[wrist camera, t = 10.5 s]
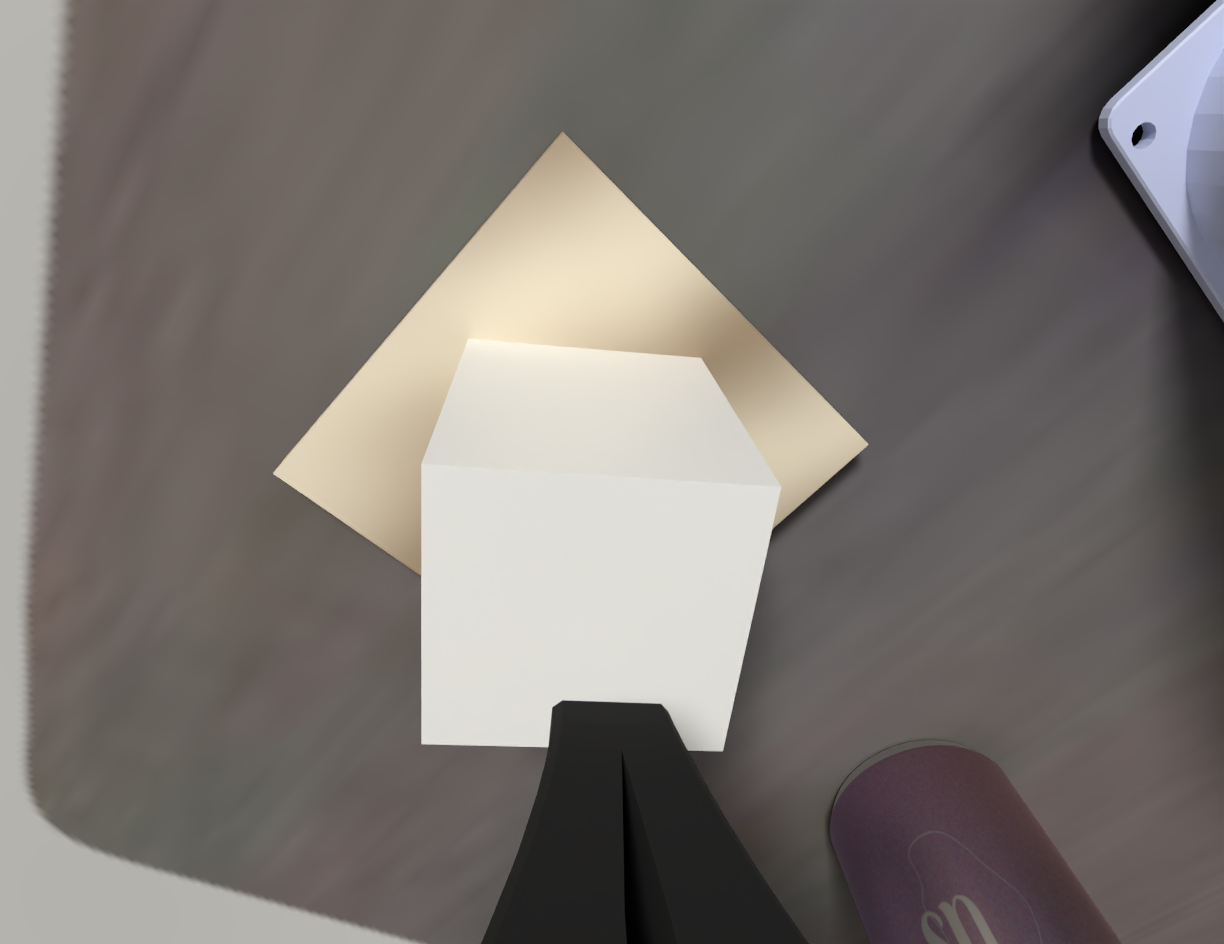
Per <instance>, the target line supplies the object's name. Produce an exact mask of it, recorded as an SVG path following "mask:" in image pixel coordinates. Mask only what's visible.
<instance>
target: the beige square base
mask: <svg viewBox="0 0 1224 944" xmlns="http://www.w3.org/2000/svg"><path fill="white" fill-rule="evenodd" d="M468 339H478V340H491V341H503V342H515V343H527V344H539V345H551V346H563V347H575V348H587V349H600V350H612V351H624V352H636V353H648V354H660V355H672V356H684V357H697V358H702V360H703V362H704V363H705V365H706V366H707V368H708V370H709V371H710V373H711V375H712V376H713V378H714V379H715V381H716V383H717V384H718V386H719V387H720V389H721V391H722V392H723V394H724V395H725V397H726V399H727V400H728V402H729V403H730V405H731V407H732V408H733V410H734V412H735V413H736V415H737V416H738V418H739V420H740V421H741V423H742V424H743V426H744V428H745V429H746V431H747V432H748V434H749V436H750V437H751V439H752V440H753V442H754V444H755V445H756V447H757V449H758V450H759V452H760V453H761V455H762V457H763V458H764V460H765V461H766V463H767V465H768V466H769V468H770V469H771V471H772V473H773V474H774V476H775V477H776V479H777V481H778V482H779V484H780V485H781V491H780V496H779V500H778V505H777V509H776V514H775V518H774V523H773V527H772V529H773V528H774V527H775V526H776V525H778V524H779V523H780V522H781V521H782V520H783V519H784V518H785V517H787V516H788V515H789V514H790V513H791V512H792V511H793V510H795V509H796V508H797V507H798V506H799V505H800V504H801V503H803V502H804V501H805V500H806V499H807V498H808V497H809V496H811V495H812V494H813V493H814V492H815V491H816V490H817V489H819V488H820V487H821V486H822V485H823V484H824V483H825V482H827V481H828V480H829V479H830V478H831V477H832V476H833V475H835V474H836V473H837V472H838V471H839V470H840V469H841V468H842V467H844V466H845V465H846V464H847V463H848V462H849V461H850V460H852V459H853V458H854V457H855V456H856V455H857V454H858V453H860V452H861V451H862V450H863V449H864V448H865V447H866V446H868V445H869V444H868V443H867V442H866V441H865V440H864V439H863V438H862V437H861V436H860V435H859V434H858V433H857V432H856V431H855V430H854V429H853V428H852V427H851V426H850V425H849V424H848V423H847V422H846V421H845V420H844V419H843V418H842V417H841V415H840V414H839V413H838V412H837V411H836V410H835V409H834V408H833V407H832V406H831V405H830V404H829V403H828V402H827V401H826V400H825V399H824V398H823V397H822V396H821V395H820V394H819V393H818V392H817V391H816V390H815V389H814V388H813V387H812V386H811V385H810V384H809V383H808V382H807V381H806V380H805V379H804V378H803V377H802V376H801V375H800V374H799V373H798V372H797V371H796V369H795V368H794V367H793V366H792V365H791V364H790V363H789V362H788V361H787V360H786V359H785V358H784V357H783V356H782V355H781V354H780V353H779V352H778V351H777V350H776V349H775V348H774V347H773V346H772V345H771V344H770V343H769V342H768V341H767V340H766V339H765V338H764V337H763V336H762V335H761V334H760V333H759V332H758V331H757V330H756V329H755V328H754V327H753V326H752V325H751V324H750V322H749V321H748V320H747V319H746V318H745V317H744V316H743V315H742V314H741V313H740V312H739V311H738V310H737V309H736V308H735V307H734V306H733V305H732V304H731V303H730V302H729V301H728V300H727V299H726V298H725V297H724V296H723V295H722V294H721V293H720V292H719V291H718V290H717V289H716V288H715V287H714V286H713V285H712V284H711V283H710V282H709V281H708V280H707V279H706V278H705V277H704V275H703V274H702V273H701V272H700V271H699V270H698V269H697V268H696V267H695V266H694V265H693V264H692V263H691V262H690V261H689V260H688V259H687V258H686V257H685V256H684V255H683V254H682V253H681V252H680V251H679V250H678V249H677V248H676V247H675V246H674V245H673V244H672V243H671V242H670V241H669V240H668V239H667V238H666V237H665V236H664V235H663V234H662V233H661V232H660V231H659V229H658V228H657V227H656V226H655V225H654V224H653V223H652V222H651V221H650V220H649V219H648V218H647V217H646V216H645V215H644V214H643V213H642V212H641V211H640V210H639V209H638V208H637V207H636V206H635V205H634V204H633V203H632V202H631V201H630V200H629V199H628V198H627V197H626V196H625V195H624V194H623V193H622V192H621V191H620V190H619V189H618V188H617V187H616V186H615V185H614V184H613V182H612V181H611V180H610V179H609V178H608V177H607V176H606V175H605V174H604V173H603V172H602V171H601V170H600V169H599V168H598V167H597V166H596V165H595V164H594V163H593V162H592V161H591V160H590V159H589V158H588V157H587V156H586V155H585V154H584V153H583V152H582V151H581V150H580V149H579V148H578V147H577V146H576V145H575V144H574V143H573V142H572V141H571V140H570V139H569V138H568V137H567V135H566V134H565V133H564V132H563V131H562V132H561V133H560V135H559V136H558V137H557V138H556V139H555V141H554V142H553V143H552V144H551V145H550V146H549V148H548V149H547V150H546V151H545V152H544V153H543V155H542V156H541V157H540V158H539V159H538V161H537V162H536V163H535V164H534V165H533V166H532V168H531V169H530V170H529V171H528V172H527V174H526V175H525V176H524V177H523V178H522V179H521V181H520V182H519V183H518V184H517V185H516V186H515V188H514V189H513V190H512V191H511V192H510V194H509V195H508V196H507V197H506V198H505V199H504V201H503V202H502V203H501V204H500V205H499V207H498V208H497V209H496V210H495V211H494V212H493V214H492V215H491V216H490V217H489V218H488V219H487V221H486V222H485V223H484V224H483V225H482V227H481V228H480V229H479V230H478V231H477V232H476V234H475V235H474V236H473V237H472V238H471V240H470V241H469V242H468V243H467V244H466V245H465V247H464V248H463V249H462V250H461V251H460V252H459V254H458V255H457V256H456V257H455V258H454V260H453V261H452V262H451V263H450V264H449V265H448V267H447V268H446V269H445V270H444V271H443V272H442V274H441V275H440V276H439V277H438V278H437V280H436V281H435V282H434V283H433V284H432V285H431V287H430V288H429V289H428V290H427V291H426V293H425V294H424V295H423V296H422V297H421V298H420V300H419V301H418V302H417V303H416V304H415V305H414V307H413V308H412V309H411V310H410V311H409V313H408V314H407V315H406V316H405V317H404V318H403V320H402V321H401V322H400V323H399V324H398V326H397V327H396V328H395V329H394V330H393V331H392V333H391V334H390V335H389V336H388V337H387V338H386V340H385V341H384V342H383V343H382V344H381V346H380V347H379V348H378V349H377V350H376V351H375V353H374V354H373V355H372V356H371V357H370V359H369V360H368V361H367V362H366V363H365V364H364V366H363V367H362V368H361V369H360V370H359V371H358V373H357V374H356V375H355V376H354V377H353V379H352V380H351V381H350V382H349V383H348V384H347V386H346V387H345V388H344V389H343V390H342V392H341V393H340V394H339V395H338V396H337V397H336V399H335V400H334V401H333V402H332V403H331V404H330V406H329V407H328V408H327V409H326V410H325V412H324V413H323V414H322V415H321V416H320V417H319V419H318V420H317V421H316V422H315V423H314V424H313V426H312V427H311V428H310V429H309V430H308V432H307V433H306V434H305V435H304V436H303V437H302V439H301V440H300V441H299V442H298V443H297V445H296V446H295V447H294V448H293V449H292V450H291V452H290V453H289V454H288V455H287V456H286V458H285V459H284V460H283V461H282V463H281V464H280V465H279V467H278V468H277V469H276V470H275V472H274V473H273V474H274V475H276V476H277V477H279V478H280V479H282V480H283V481H285V482H286V483H287V484H289V485H290V486H292V487H293V488H295V489H296V490H298V491H299V492H300V493H302V494H303V495H305V496H306V497H308V498H309V499H311V500H312V501H314V502H315V503H316V504H318V505H319V506H321V507H322V508H324V509H325V510H327V511H328V512H329V513H331V514H332V515H334V516H335V517H337V518H338V519H340V520H341V521H342V522H344V523H345V524H347V525H348V526H350V527H351V528H353V529H354V530H356V531H357V532H358V533H360V534H361V535H363V536H364V537H366V538H367V539H369V540H370V541H371V542H373V543H374V544H376V545H377V546H379V547H380V548H382V549H383V550H385V551H386V552H387V553H389V554H390V555H392V556H393V557H395V558H396V559H398V560H399V561H400V562H402V563H403V564H405V565H406V566H408V567H409V568H411V569H412V570H413V571H415V572H416V573H418V574H419V575H421V463H422V461H423V458H424V455H425V453H426V450H427V447H428V445H429V442H430V439H431V437H432V434H433V431H434V429H435V426H436V423H437V421H438V418H439V415H440V413H441V410H442V408H443V405H444V402H445V400H446V397H447V394H448V392H449V389H450V386H451V384H452V381H453V378H454V376H455V373H456V370H457V368H458V365H459V362H460V360H461V357H462V354H463V352H464V349H465V346H466V344H467V341H468Z"/></svg>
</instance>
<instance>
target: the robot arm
mask: <svg viewBox="0 0 1224 944" xmlns="http://www.w3.org/2000/svg"><path fill="white" fill-rule="evenodd" d="M1139 125H1142V129H1143V134H1142V138H1141V140H1140V141H1139V143H1138V144H1137V145H1136V146H1133V145H1132V141H1131V139H1132V135H1133V132H1134V131H1135V129H1136V128H1137V127H1138V126H1139ZM1098 129H1099V131H1100V134H1101V137H1102V138H1103V140H1104V141H1105V143H1106V144H1107V146H1108V147H1109V149H1110V150H1111V152H1112V153H1113V155H1114V156H1115V158H1116V159H1117V161H1118V163H1119V164H1120V166H1121V167H1122V169H1123V170H1124V172H1125V173H1126V175H1127V176H1128V178H1129V179H1130V181H1131V182H1132V184H1133V185H1134V187H1135V188H1136V190H1137V191H1138V193H1139V194H1140V196H1141V197H1142V199H1143V201H1144V202H1145V204H1146V205H1147V207H1148V208H1149V210H1150V211H1151V213H1152V214H1153V216H1154V217H1155V219H1156V220H1157V222H1158V223H1159V225H1160V226H1161V228H1162V229H1163V231H1164V232H1165V234H1166V235H1167V237H1168V238H1169V240H1170V242H1171V243H1172V245H1173V246H1174V248H1175V249H1176V251H1177V252H1178V254H1179V255H1180V257H1181V258H1182V260H1183V261H1184V263H1185V264H1186V266H1187V267H1188V269H1189V270H1190V272H1191V273H1192V275H1193V276H1194V278H1195V280H1196V281H1197V283H1198V284H1199V286H1200V287H1201V289H1202V290H1203V292H1204V293H1205V295H1206V296H1207V298H1208V299H1209V301H1210V302H1211V304H1212V305H1213V307H1214V308H1215V310H1216V311H1217V313H1218V314H1219V316H1220V318H1221V319H1222V321H1223V322H1224V0H1217V1H1216V2H1214V3H1213V4H1212V5H1211V6H1210V7H1209V8H1208V9H1207V10H1206V11H1205V12H1204V13H1203V14H1202V15H1200V16H1199V17H1198V18H1197V19H1196V20H1195V21H1194V22H1193V23H1192V24H1191V25H1190V26H1189V27H1188V28H1187V29H1185V30H1184V31H1183V32H1182V33H1181V34H1180V35H1179V36H1178V37H1177V38H1176V39H1175V40H1174V41H1173V42H1171V43H1170V44H1169V45H1168V46H1167V47H1166V48H1165V49H1164V50H1163V51H1162V52H1161V53H1160V54H1159V55H1158V56H1156V57H1155V58H1154V59H1153V60H1152V61H1151V62H1150V63H1149V64H1148V65H1147V66H1146V67H1145V68H1144V69H1142V70H1141V71H1140V72H1139V73H1138V74H1137V75H1136V76H1135V77H1134V78H1133V79H1132V80H1131V81H1130V82H1129V83H1127V84H1126V85H1125V86H1124V87H1123V88H1122V89H1121V90H1120V91H1119V92H1118V93H1117V94H1116V95H1115V96H1113V97H1112V98H1111V99H1110V100H1109V102H1108V103H1107V104H1106V105H1105V107H1104V108H1103V110H1102V112H1101V115H1100V117H1099V126H1098ZM481 944H809V943H808V942H807V941H806V939H805V938H804V936H803V935H802V934H801V932H800V931H799V929H798V928H797V926H796V925H795V924H794V922H793V921H792V919H791V918H790V916H789V915H788V913H787V912H786V911H785V909H784V908H783V906H782V905H781V903H780V902H779V901H778V899H777V898H776V896H775V895H774V893H773V892H772V890H771V889H770V887H769V886H768V884H767V883H766V881H765V880H764V878H763V877H762V875H761V874H760V872H759V871H758V869H757V867H756V866H755V864H754V863H753V861H752V859H751V858H750V856H749V855H748V853H747V851H746V850H745V848H744V847H743V845H742V843H741V842H740V840H739V839H738V837H737V835H736V834H735V832H734V831H733V829H732V827H731V826H730V824H729V823H728V821H727V819H726V818H725V816H724V814H723V813H722V811H721V809H720V808H719V806H718V804H717V803H716V801H715V799H714V797H713V796H712V794H711V792H710V790H709V789H708V787H707V785H706V783H705V781H704V780H703V778H702V776H701V774H700V773H699V771H698V769H697V767H696V765H695V763H694V762H693V760H692V758H691V756H690V754H689V752H688V750H687V748H686V747H685V745H684V743H683V741H682V739H681V737H680V735H679V733H678V731H677V729H676V727H675V725H674V723H673V721H672V719H671V716H670V714H669V712H668V711H667V710H666V709H665V708H664V706H663V705H662V704H655V703H626V702H597V701H568V700H562V701H561V702H559V703H558V704H556V705H555V706H553V707H552V715H551V725H550V735H549V746H548V753H547V757H546V762H545V766H544V770H543V774H542V778H541V781H540V785H539V789H538V793H537V796H536V799H535V802H534V805H533V808H532V811H531V814H530V817H529V820H528V823H527V826H526V829H525V833H524V836H523V839H522V842H521V845H520V848H519V850H518V853H517V856H516V859H515V861H514V864H513V867H512V869H511V872H510V874H509V877H508V879H507V882H506V884H505V887H504V889H503V891H502V894H501V896H500V899H499V901H498V904H497V906H496V909H495V911H494V914H493V916H492V919H491V921H490V924H489V926H488V929H487V931H486V933H485V936H484V938H483V940H482V943H481Z"/></svg>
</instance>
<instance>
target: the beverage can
mask: <svg viewBox="0 0 1224 944" xmlns="http://www.w3.org/2000/svg"><path fill="white" fill-rule="evenodd" d="M830 837H831V842H832V844H833V847H834V850H835V852H836V855H837V857H838V860H839V863H840V865H841V868H842V870H843V873H844V876H845V878H846V881H847V883H848V886H849V889H850V891H851V894H852V896H853V899H854V901H855V904H856V907H857V909H858V912H859V914H860V917H861V920H862V922H863V925H864V927H865V930H866V933H867V935H868V938H869V940H870V943H871V944H1122V943H1121V941H1120V940H1119V938H1118V937H1117V935H1116V934H1115V933H1114V931H1113V930H1112V928H1111V927H1110V925H1109V924H1108V922H1107V921H1106V920H1105V918H1104V917H1103V915H1102V914H1101V912H1100V911H1099V909H1098V908H1097V906H1096V905H1095V904H1094V902H1093V901H1092V899H1091V898H1090V896H1089V895H1088V893H1087V892H1086V891H1085V889H1084V888H1083V886H1082V885H1081V883H1080V882H1079V880H1078V879H1077V878H1076V876H1075V875H1074V873H1073V872H1072V870H1071V869H1070V867H1069V866H1068V864H1067V863H1066V862H1065V860H1064V859H1063V857H1062V856H1061V854H1060V853H1059V851H1058V850H1057V849H1056V847H1055V846H1054V844H1053V843H1052V841H1051V840H1050V838H1049V837H1048V836H1047V834H1046V833H1045V831H1044V830H1043V828H1042V827H1041V825H1040V824H1039V822H1038V821H1037V820H1036V818H1035V817H1034V815H1033V814H1032V812H1031V811H1030V809H1029V808H1028V807H1027V805H1026V804H1025V802H1024V801H1023V799H1022V798H1021V796H1020V795H1019V794H1018V792H1017V791H1016V789H1015V788H1014V786H1013V785H1012V783H1011V782H1010V780H1009V779H1008V778H1007V776H1006V775H1005V773H1004V772H1003V771H1002V769H1001V768H1000V767H999V766H998V765H997V764H996V763H995V762H993V761H992V760H991V759H989V758H988V757H986V756H984V755H982V754H980V753H978V752H976V751H974V750H972V749H969V748H967V747H965V746H962V745H959V744H956V743H952V742H947V741H939V740H921V741H913V742H908V743H904V744H900V745H897V746H894V747H891V748H888V749H886V750H884V751H882V752H880V753H878V754H876V755H874V756H872V757H871V758H869V759H868V760H866V761H865V762H863V763H862V764H861V765H860V766H858V767H857V768H856V769H855V770H854V771H853V772H852V773H851V774H850V775H849V777H848V778H847V779H846V780H845V782H844V783H843V785H842V786H841V788H840V790H839V792H838V794H837V797H836V799H835V803H834V806H833V811H832V815H831V821H830Z"/></svg>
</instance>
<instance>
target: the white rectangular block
mask: <svg viewBox="0 0 1224 944" xmlns="http://www.w3.org/2000/svg"><path fill="white" fill-rule="evenodd" d="M780 491H781V485H780V484H779V482H778V481H777V479H776V477H775V476H774V474H773V473H772V471H771V469H770V468H769V466H768V465H767V463H766V461H765V460H764V458H763V457H762V455H761V453H760V452H759V450H758V449H757V447H756V445H755V444H754V442H753V440H752V439H751V437H750V436H749V434H748V432H747V431H746V429H745V428H744V426H743V424H742V423H741V421H740V420H739V418H738V416H737V415H736V413H735V412H734V410H733V408H732V407H731V405H730V403H729V402H728V400H727V399H726V397H725V395H724V394H723V392H722V391H721V389H720V387H719V386H718V384H717V383H716V381H715V379H714V378H713V376H712V375H711V373H710V371H709V370H708V368H707V366H706V365H705V363H704V362H703V360H702V358H697V357H684V356H672V355H660V354H648V353H636V352H624V351H612V350H600V349H587V348H575V347H563V346H551V345H539V344H527V343H515V342H503V341H491V340H478V339H468V341H467V344H466V346H465V349H464V352H463V354H462V357H461V360H460V362H459V365H458V368H457V370H456V373H455V376H454V378H453V381H452V384H451V386H450V389H449V392H448V394H447V397H446V400H445V402H444V405H443V408H442V410H441V413H440V415H439V418H438V421H437V423H436V426H435V429H434V431H433V434H432V437H431V439H430V442H429V445H428V447H427V450H426V453H425V455H424V458H423V461H422V463H421V661H422V744H438V745H480V746H521V747H548V746H549V735H550V725H551V715H552V707H553V706H555V705H556V704H558V703H559V702H561V701H562V700H568V701H597V702H626V703H655V704H662V705H663V706H664V708H665V709H666V710H667V711H668V712H669V714H670V716H671V719H672V721H673V723H674V725H675V727H676V729H677V731H678V733H679V735H680V737H681V739H682V741H683V743H684V745H685V747H686V748H687V750H688V751H723V748H724V744H725V739H726V735H727V730H728V726H729V721H730V717H731V712H732V708H733V703H734V699H735V694H736V690H737V685H738V681H739V676H740V672H741V667H742V663H743V658H744V654H745V649H746V645H747V640H748V636H749V631H750V627H751V622H752V618H753V613H754V609H755V604H756V600H757V595H758V590H759V586H760V581H761V577H762V572H763V568H764V563H765V559H766V554H767V550H768V545H769V541H770V536H771V532H772V527H773V523H774V518H775V514H776V509H777V505H778V500H779V496H780Z"/></svg>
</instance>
